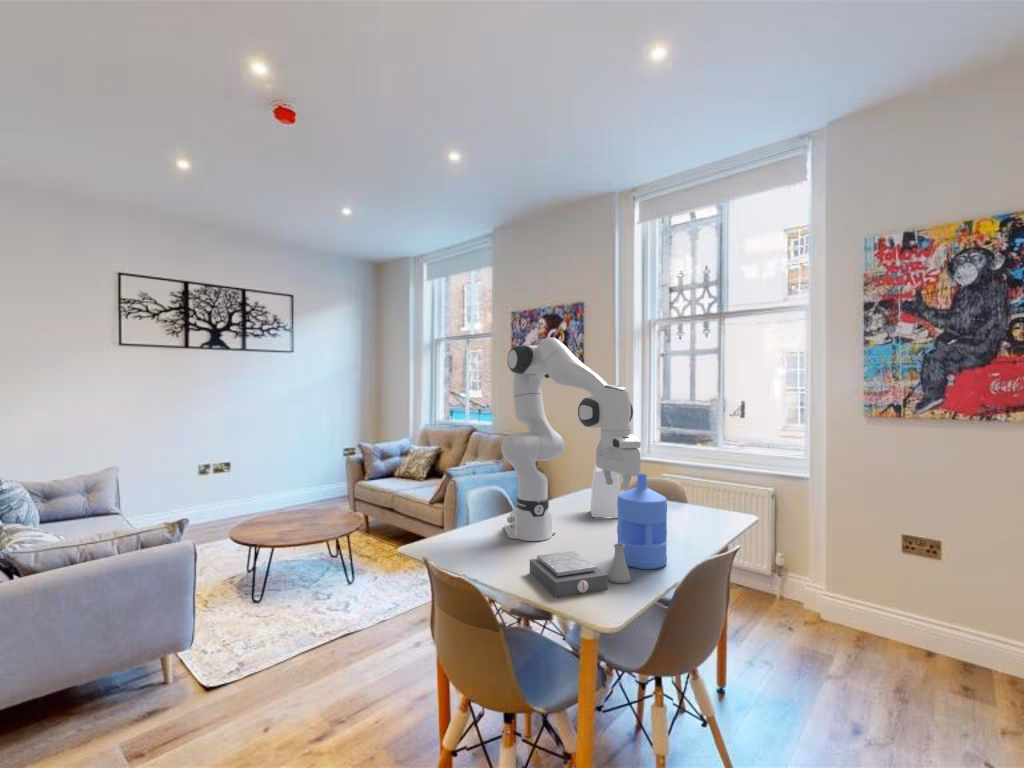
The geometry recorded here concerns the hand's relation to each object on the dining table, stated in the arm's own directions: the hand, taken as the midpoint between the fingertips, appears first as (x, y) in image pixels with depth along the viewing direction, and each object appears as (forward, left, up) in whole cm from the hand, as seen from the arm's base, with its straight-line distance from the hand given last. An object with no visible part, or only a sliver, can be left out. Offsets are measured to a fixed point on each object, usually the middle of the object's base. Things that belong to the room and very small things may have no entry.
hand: (616, 487), depth 142 cm
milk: (-63, +35, -27) cm, 76 cm away
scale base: (-4, -14, -27) cm, 31 cm away
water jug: (-10, +16, -27) cm, 33 cm away
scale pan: (-5, -14, -23) cm, 27 cm away
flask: (0, +1, -27) cm, 27 cm away
